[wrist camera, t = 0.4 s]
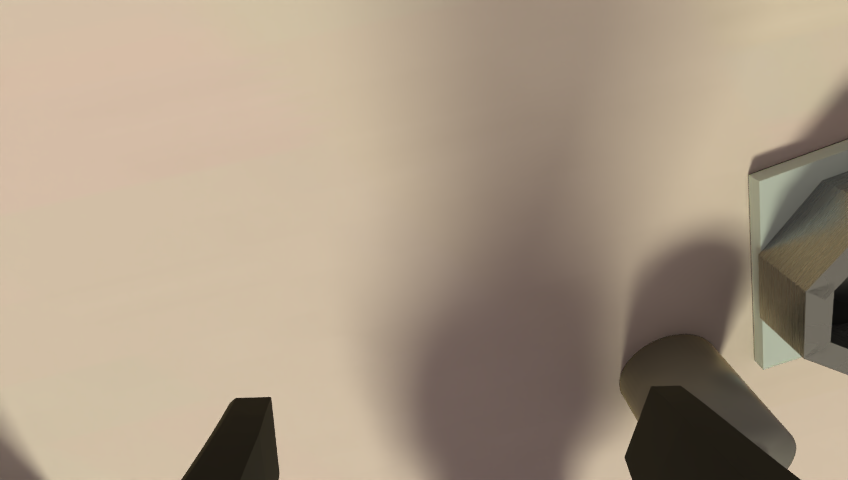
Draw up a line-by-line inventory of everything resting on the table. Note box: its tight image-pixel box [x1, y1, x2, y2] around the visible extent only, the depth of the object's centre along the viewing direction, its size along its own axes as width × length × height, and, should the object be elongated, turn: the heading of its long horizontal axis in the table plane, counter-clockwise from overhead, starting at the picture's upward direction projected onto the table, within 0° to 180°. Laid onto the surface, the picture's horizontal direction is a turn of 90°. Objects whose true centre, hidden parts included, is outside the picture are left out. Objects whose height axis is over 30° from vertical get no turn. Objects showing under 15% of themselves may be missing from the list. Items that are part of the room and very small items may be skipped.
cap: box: [619, 334, 796, 469], centre depth 22 cm, size 5×5×5 cm
